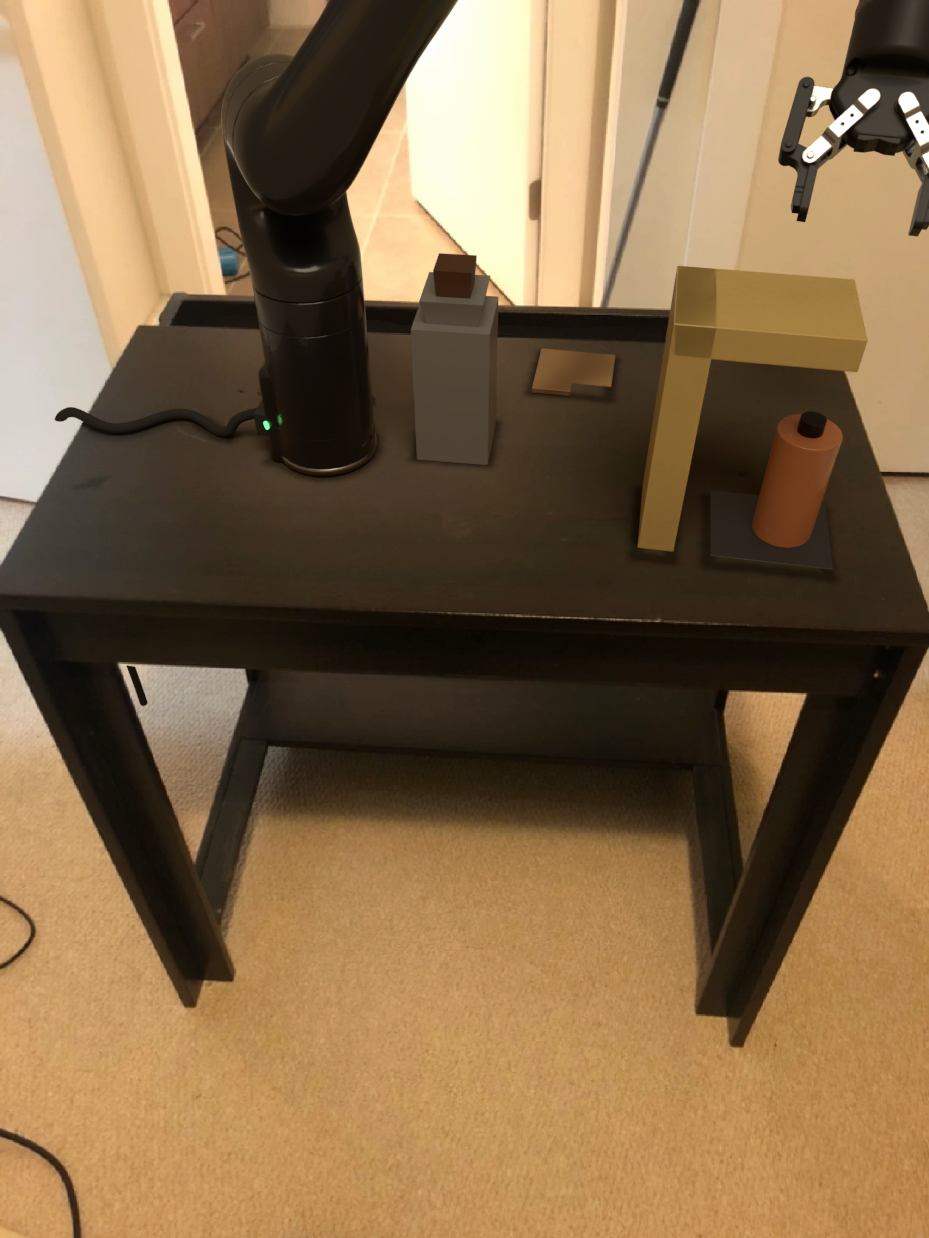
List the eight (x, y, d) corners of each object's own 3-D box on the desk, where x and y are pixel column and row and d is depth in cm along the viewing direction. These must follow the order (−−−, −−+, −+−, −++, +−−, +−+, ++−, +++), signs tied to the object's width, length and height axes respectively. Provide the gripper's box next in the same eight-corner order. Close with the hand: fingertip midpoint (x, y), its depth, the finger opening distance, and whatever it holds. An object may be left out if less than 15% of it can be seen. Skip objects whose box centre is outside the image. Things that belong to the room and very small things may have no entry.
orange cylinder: (752, 544, 83) (782, 433, 75) (750, 507, 86) (779, 397, 78) (813, 551, 82) (850, 440, 74) (809, 514, 86) (844, 403, 78)
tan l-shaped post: (636, 556, 83) (673, 323, 68) (641, 491, 90) (677, 265, 74) (830, 578, 81) (914, 344, 66) (822, 510, 88) (897, 282, 72)
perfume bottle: (495, 424, 97) (499, 247, 84) (487, 465, 92) (490, 284, 80) (428, 419, 98) (422, 243, 85) (416, 459, 93) (408, 279, 80)
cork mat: (531, 392, 101) (531, 387, 101) (541, 353, 107) (541, 348, 106) (609, 400, 100) (610, 395, 100) (615, 359, 106) (615, 354, 105)
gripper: (817, -20, 74) (768, 193, 75) (1020, -5, 71) (968, 217, 71) (806, 39, 81) (761, 233, 82) (989, 55, 78) (942, 256, 79)
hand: (858, 225), depth 77 cm, fingers open, 8 cm apart
